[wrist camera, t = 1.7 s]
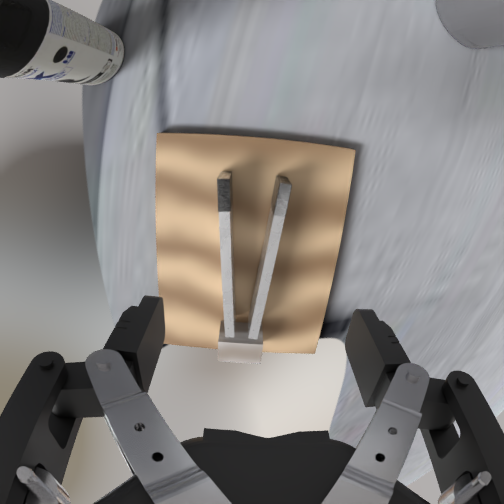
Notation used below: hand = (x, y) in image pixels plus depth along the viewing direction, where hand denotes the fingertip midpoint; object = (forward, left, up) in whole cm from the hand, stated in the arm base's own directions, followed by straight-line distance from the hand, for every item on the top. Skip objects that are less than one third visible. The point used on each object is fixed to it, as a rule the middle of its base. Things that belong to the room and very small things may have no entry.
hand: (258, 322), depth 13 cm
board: (+7, 0, -22) cm, 24 cm away
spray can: (-15, -18, -23) cm, 33 cm away
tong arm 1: (+6, -2, -21) cm, 22 cm away
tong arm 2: (+6, +2, -21) cm, 22 cm away
